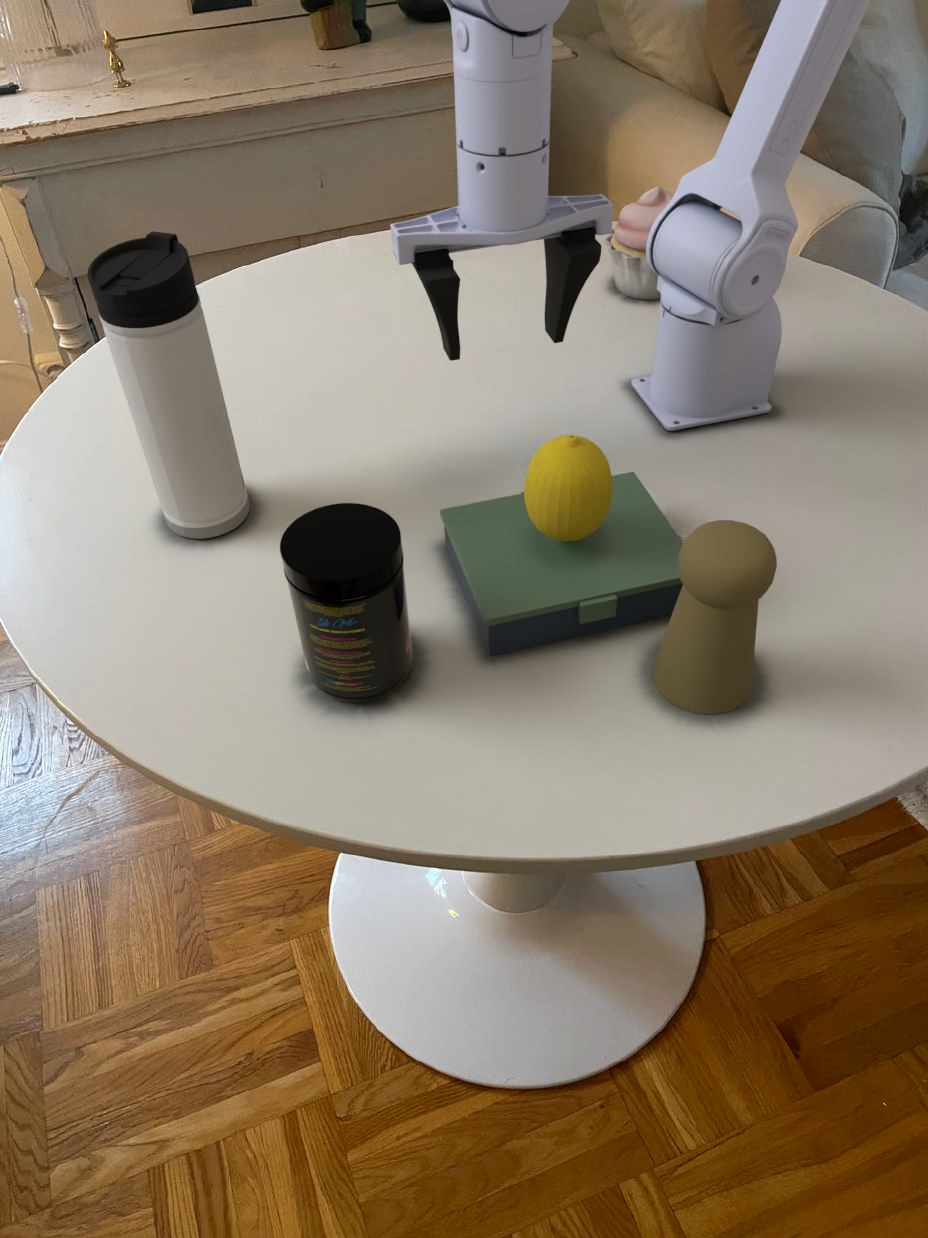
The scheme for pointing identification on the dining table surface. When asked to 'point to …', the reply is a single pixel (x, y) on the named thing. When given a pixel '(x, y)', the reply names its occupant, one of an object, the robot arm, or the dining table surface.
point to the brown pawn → (715, 618)
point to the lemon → (568, 488)
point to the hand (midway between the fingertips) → (503, 344)
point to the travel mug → (171, 382)
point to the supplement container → (349, 599)
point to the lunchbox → (562, 569)
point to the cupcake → (636, 245)
